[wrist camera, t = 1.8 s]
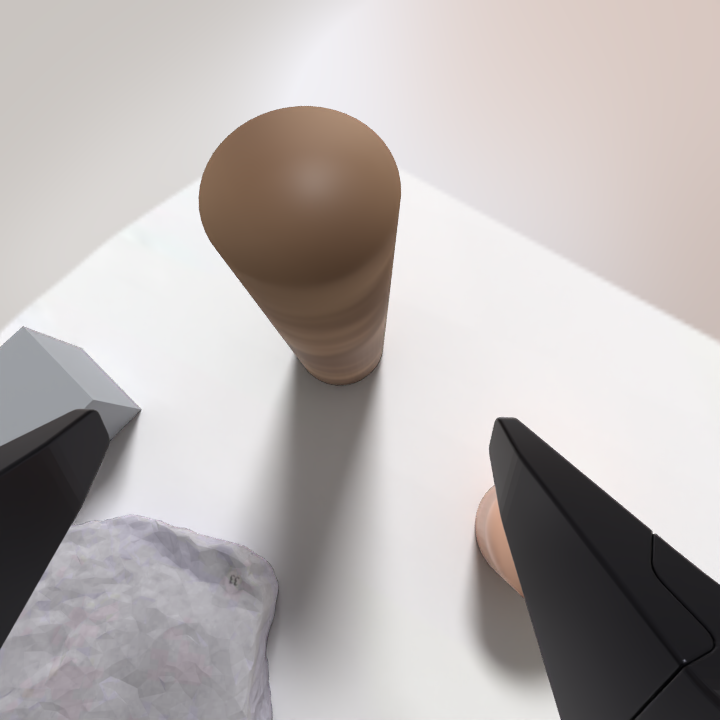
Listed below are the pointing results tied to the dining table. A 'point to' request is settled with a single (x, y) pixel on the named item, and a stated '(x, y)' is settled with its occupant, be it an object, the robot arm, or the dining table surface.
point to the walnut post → (309, 231)
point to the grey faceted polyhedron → (54, 385)
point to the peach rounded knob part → (495, 540)
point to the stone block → (142, 629)
